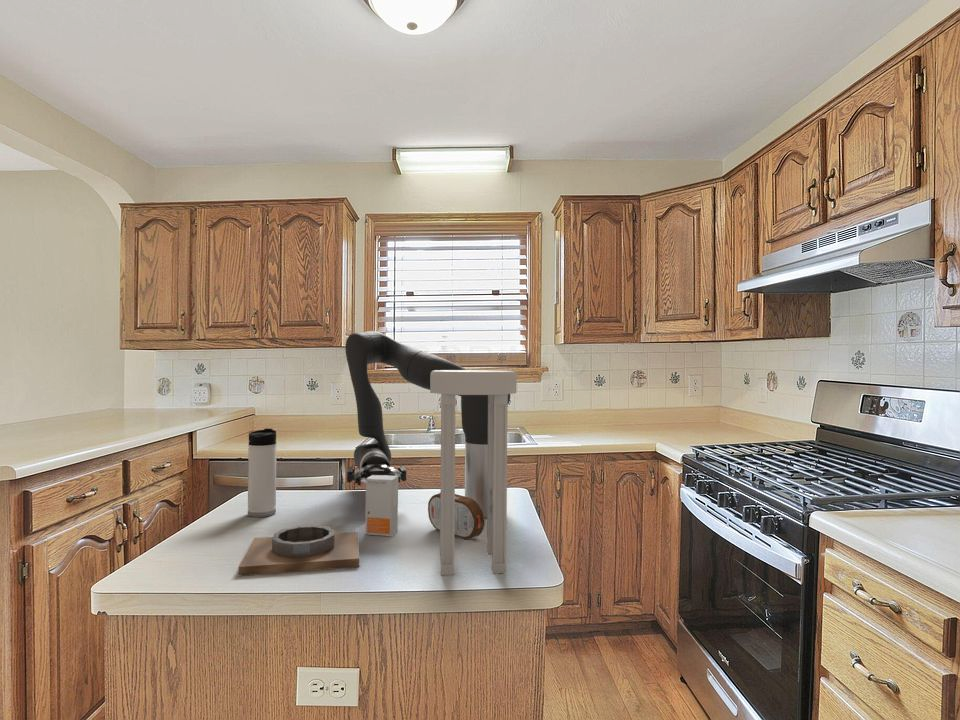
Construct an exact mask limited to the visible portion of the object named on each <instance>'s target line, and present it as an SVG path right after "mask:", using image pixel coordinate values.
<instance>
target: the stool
mask: <svg viewBox="0 0 960 720" xmlns="http://www.w3.org/2000/svg"><path fill="white" fill-rule="evenodd" d="M517 377H518V376H517V373H516V372H515V371H512V370H490V369H487V370H486V369H484V370H481V369H480V370H478V369H476V370H475V369H474V370H473V369H468V370H434V371H432V372H431V375H430V390H429V393H430V394H437V395H440V397H441V398H440V399H441V400H440V401H441V402H440V404H441V405H440V406H441V407H440V493H441V496H440V531H439V534H440V535H439V538H440V539H439V557H440V556H441V557H440V576H454V575H455V536H454V521H455V494H456V490H455V488H456V396H458V395H488V472H487V517H486V525H487V526H486V554H487V553H488V554H487V556H488V555H490V556H491V571H493V572H492V574H493V575H500V574H499V573H506V574H507V538H508V537H507V532H508V531H507V530H508V529H507V528H508V527H507V519H508V518H507V516H508V515H507V514H508V513H507V511H508V509H507V508H508V507H507V506H508V500H507V499H508V404H509V403H508V394H510V395H512V394H517Z"/></svg>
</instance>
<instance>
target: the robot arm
mask: <svg viewBox="0 0 960 720" xmlns="http://www.w3.org/2000/svg"><path fill="white" fill-rule="evenodd" d="M344 349H345V357H346V361H347V365H348V370H349V371H348V372H349V375H350V380H351V383H352V387H353V391H354V392H353V393H354V398H355V403H356V411H357V413H356V414H357V424H358V425H357V427H358V433H359V435H360V436H361V437H364V438H371V439H374V440H376V441H377V442H375V443H366V444H359V445H358V446H356V447H355V449H354V451H353V452H354V453H353V461H354V464H355V466H356V467H357V468H358V469H357V470H356V469H355V468H354V467H353V466H350V467H347V471H346V483H352V482H354V484H355V485H357V486H361V485H362V483H365V484H366V478H368V477H370V476H372V475H389V476H398V484H399V483H401V481H402V482H406V481H407V480H408V479H407V472H408V471H407V469H406V468H405V466H403V465H399V466H398V467H397V468H396V469H395V468H394V467H393V466H391V464H390V462H391V460H392V452H391V449H390V446H389V444H388V442H387V438H386V435H385V430H384V418H383V408H382V404H381V401H380V399H379V397H378V395H377V393H376V392H375V390H374V389H373V386H372V384H371V382H370V378H369V374H368V365H371V364H375V363H377V364H378V363H380V364H384V365H387V366H390V367H393V368H395V369H397V370H398V372H399V374H400V376H401V377H402V378H403V379H404V380H406V381H407V382H409V383H411V384H413V385H415V386H417V387H419V388H423V389H425V390H429V391H430V375H431V372H432V371H434V370H469V368H468V369H467V368H466V367H463V366H461V365H458V364H457V363H454V362H452V361H449V360H447V359H445V358H443V357H441V356H438V355H436V354H433V353H430V352H428V351H425V350H422V349H419V348H416V347H413V346H411V345H407V344H404V343H401V342H399V341H397V340H395V339H393V338H391V337H389V336H388V335H386V334H385V333H382V332H380V331H376V330H371V331H361V332H354V333H351V334H350V335H348V337H347V338H346V341H345V347H344ZM457 396H458V397H460V410H461V427H462V431H463V433H464V437H465V438H464V442H465V445H464V496H465V497H469V498H472V499H473V500H475V501H476V502H477V503H478V504H479V506H480V507H481V509H482V512H483V515H484V518H487V472H488V395H457ZM510 399H511V394H508V404H510Z"/></svg>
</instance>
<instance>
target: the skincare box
mask: <svg viewBox="0 0 960 720" xmlns="http://www.w3.org/2000/svg"><path fill="white" fill-rule="evenodd" d="M364 509H365V511H364V513H365V517H364V518H365V521H364V522H365V523H364V534H365V535H367V536H370V535H371V536H381V537H382V536H383V537H384V536H385V537H393V536H394V535H395V534H396V533H397V532H398V527H399V526H398V525H399V522H398V518H399V517H398V516H399V483H398V476H389V475H372V476H370V477H368V478H366V482H365V508H364Z"/></svg>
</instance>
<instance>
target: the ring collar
mask: <svg viewBox="0 0 960 720" xmlns="http://www.w3.org/2000/svg"><path fill="white" fill-rule="evenodd" d="M335 533H336V531H335V530H334V529H333V528H330V527H329V526H325V525H324V526H322V525H314V524H313V525H297V526H294V527H293V526H292V527H288V528H284V529H281V530H279V531H277V532H275V533H273V535H272V537H273V538H272V553H274V554H275V555H277V556H279V557H287V558H304V557H312V556H316V555H320V554H324V553H327V552H328V551H330V550H332V549H333V548H334V542H335ZM299 540H313V541H307V542H295V541H299Z"/></svg>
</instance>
